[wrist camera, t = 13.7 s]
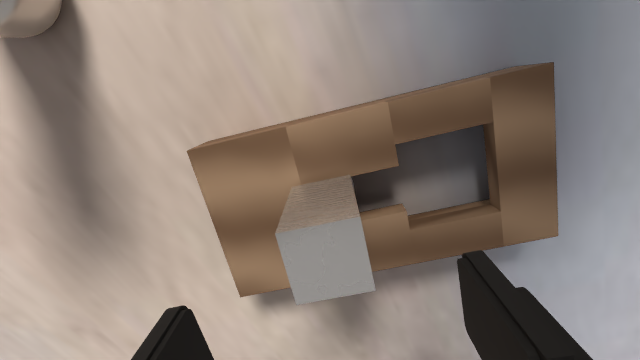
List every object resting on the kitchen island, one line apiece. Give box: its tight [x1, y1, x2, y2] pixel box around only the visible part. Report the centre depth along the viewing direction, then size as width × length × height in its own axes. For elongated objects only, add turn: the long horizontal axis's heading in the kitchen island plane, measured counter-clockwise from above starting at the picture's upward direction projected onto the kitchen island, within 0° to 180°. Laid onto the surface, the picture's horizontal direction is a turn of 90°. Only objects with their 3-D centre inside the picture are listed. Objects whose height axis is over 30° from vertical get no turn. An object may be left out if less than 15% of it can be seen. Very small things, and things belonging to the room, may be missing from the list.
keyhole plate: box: [187, 62, 558, 297], centre depth 24 cm, size 12×24×4 cm, turn 103°
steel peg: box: [275, 175, 376, 305], centre depth 20 cm, size 4×4×12 cm
